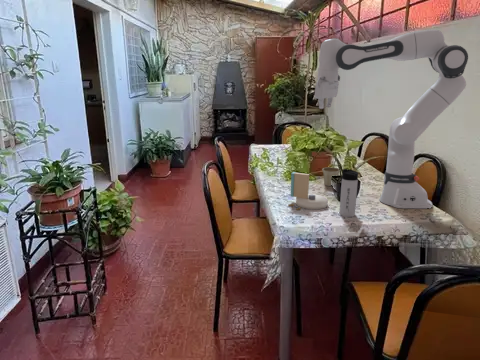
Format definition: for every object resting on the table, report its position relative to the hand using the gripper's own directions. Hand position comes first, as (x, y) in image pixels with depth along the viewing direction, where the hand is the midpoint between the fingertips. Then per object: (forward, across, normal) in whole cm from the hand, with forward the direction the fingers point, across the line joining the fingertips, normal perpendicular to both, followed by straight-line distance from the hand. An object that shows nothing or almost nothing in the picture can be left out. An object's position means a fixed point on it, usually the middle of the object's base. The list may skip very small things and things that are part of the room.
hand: (325, 107), depth 171 cm
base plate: (+43, -17, -4) cm, 46 cm away
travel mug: (+43, -21, -21) cm, 52 cm away
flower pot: (+43, +21, +1) cm, 48 cm away
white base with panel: (+42, -17, -2) cm, 45 cm away
